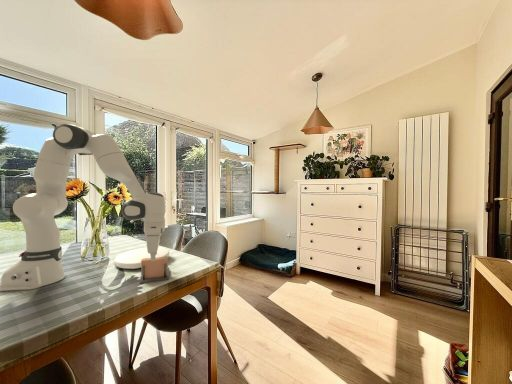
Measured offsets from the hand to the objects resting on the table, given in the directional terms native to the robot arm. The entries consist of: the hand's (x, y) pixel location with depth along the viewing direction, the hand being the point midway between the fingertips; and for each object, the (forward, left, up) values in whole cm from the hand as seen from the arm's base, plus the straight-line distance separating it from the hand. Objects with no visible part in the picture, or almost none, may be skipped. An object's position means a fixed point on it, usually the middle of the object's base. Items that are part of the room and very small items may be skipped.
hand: (154, 257), depth 105 cm
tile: (0, 0, -9) cm, 9 cm away
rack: (0, +3, -10) cm, 10 cm away
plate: (-8, +27, -10) cm, 30 cm away
